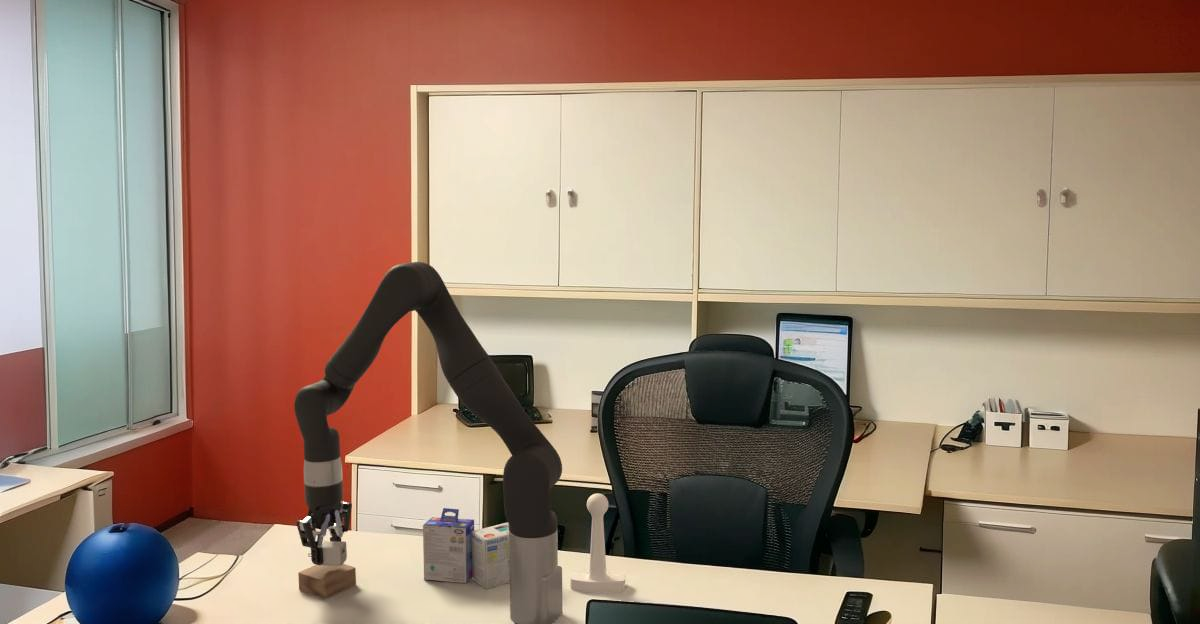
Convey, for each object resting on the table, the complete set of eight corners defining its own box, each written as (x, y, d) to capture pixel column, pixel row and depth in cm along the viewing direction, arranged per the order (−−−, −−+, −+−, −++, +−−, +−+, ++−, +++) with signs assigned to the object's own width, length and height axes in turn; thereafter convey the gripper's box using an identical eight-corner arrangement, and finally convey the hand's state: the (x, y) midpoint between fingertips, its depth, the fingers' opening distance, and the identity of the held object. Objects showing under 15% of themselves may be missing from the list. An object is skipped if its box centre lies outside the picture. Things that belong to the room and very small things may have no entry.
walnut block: (356, 585, 191) (355, 567, 190) (325, 600, 184) (324, 581, 183) (329, 577, 195) (329, 559, 194) (299, 591, 188) (298, 572, 188)
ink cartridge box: (476, 573, 196) (475, 508, 194) (467, 584, 190) (466, 517, 189) (433, 570, 198) (431, 505, 196) (423, 580, 192) (421, 514, 191)
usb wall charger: (340, 566, 186) (339, 547, 186) (307, 566, 186) (306, 547, 186) (346, 558, 190) (346, 540, 190) (314, 558, 190) (313, 540, 190)
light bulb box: (514, 567, 199) (513, 519, 198) (530, 577, 194) (530, 528, 192) (470, 579, 193) (469, 530, 192) (486, 590, 188) (485, 539, 186)
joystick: (569, 591, 187) (569, 497, 184) (573, 576, 194) (573, 485, 192) (624, 593, 186) (624, 498, 183) (626, 577, 193) (626, 486, 191)
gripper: (312, 492, 178) (316, 575, 180) (361, 471, 191) (364, 550, 193) (283, 486, 181) (287, 569, 184) (333, 467, 194) (336, 544, 196)
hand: (327, 559), depth 188 cm, fingers closed on usb wall charger, 4 cm apart
